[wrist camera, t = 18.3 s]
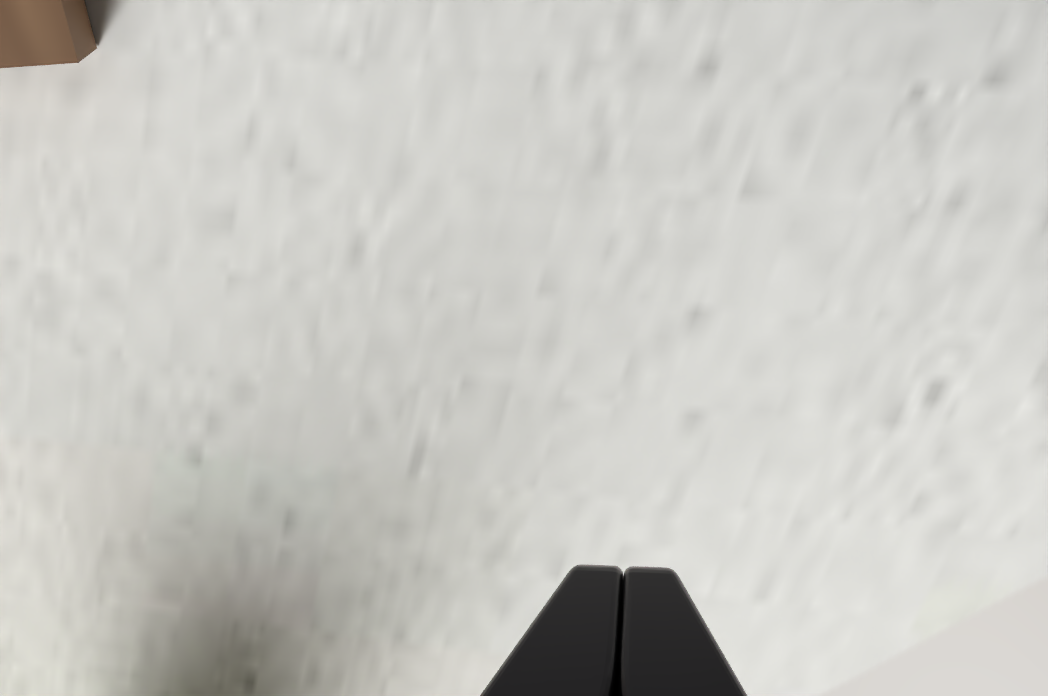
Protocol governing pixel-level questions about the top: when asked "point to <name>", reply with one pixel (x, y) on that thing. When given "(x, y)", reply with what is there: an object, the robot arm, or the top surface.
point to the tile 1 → (44, 32)
